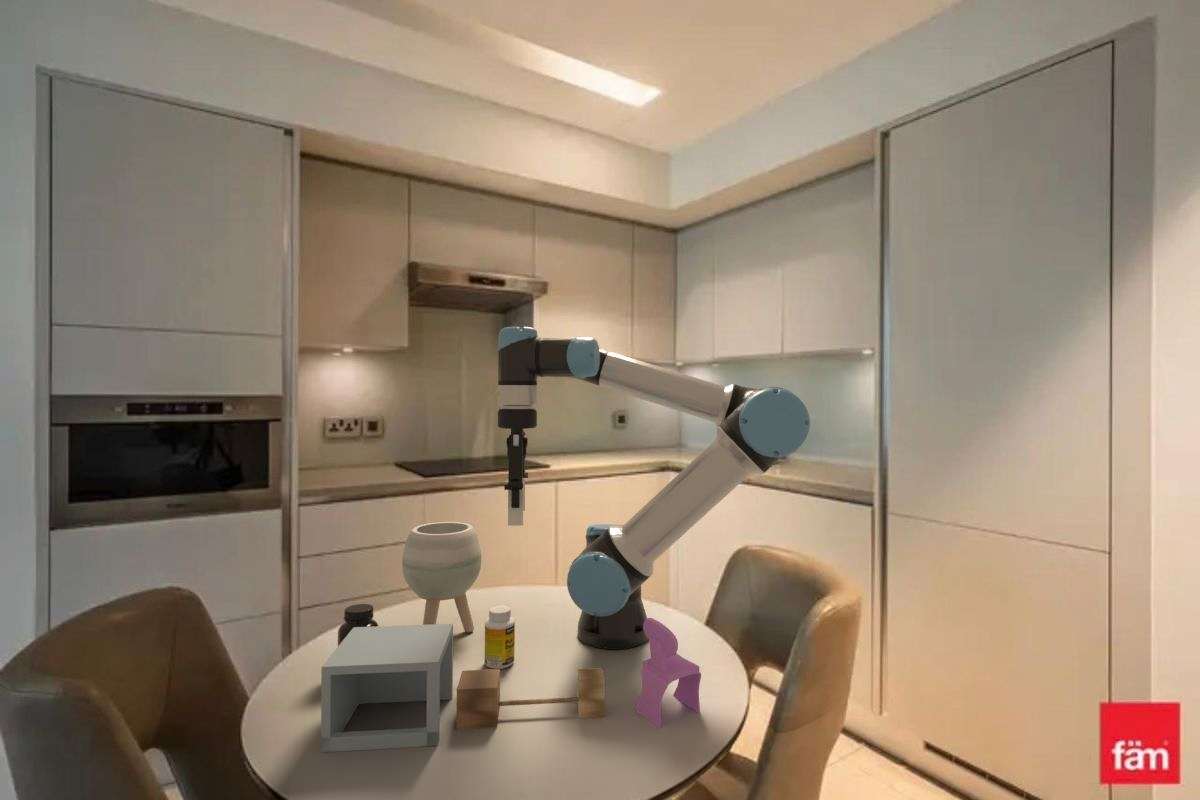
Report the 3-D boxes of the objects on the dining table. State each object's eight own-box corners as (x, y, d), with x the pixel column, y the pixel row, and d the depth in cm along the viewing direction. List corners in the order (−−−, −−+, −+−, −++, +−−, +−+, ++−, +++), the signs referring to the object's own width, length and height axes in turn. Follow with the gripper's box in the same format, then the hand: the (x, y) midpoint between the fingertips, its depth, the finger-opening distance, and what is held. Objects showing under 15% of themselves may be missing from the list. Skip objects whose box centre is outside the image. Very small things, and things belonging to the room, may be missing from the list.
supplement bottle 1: (363, 686, 99) (363, 616, 99) (328, 682, 100) (328, 613, 100) (386, 667, 106) (386, 602, 106) (352, 664, 107) (353, 600, 107)
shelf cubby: (452, 695, 96) (453, 623, 96) (438, 745, 82) (438, 661, 82) (353, 700, 94) (353, 627, 94) (321, 752, 80) (321, 666, 80)
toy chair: (707, 714, 90) (707, 619, 90) (663, 731, 86) (664, 631, 86) (672, 691, 97) (673, 603, 97) (631, 706, 93) (631, 614, 93)
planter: (496, 629, 124) (497, 525, 124) (439, 657, 110) (439, 540, 110) (444, 613, 132) (445, 517, 132) (385, 638, 119) (385, 530, 119)
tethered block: (601, 700, 94) (601, 664, 94) (605, 721, 88) (605, 682, 88) (462, 708, 92) (462, 670, 92) (456, 729, 86) (456, 689, 86)
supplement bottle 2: (507, 672, 104) (507, 615, 104) (479, 668, 106) (479, 613, 106) (519, 658, 110) (519, 605, 110) (492, 655, 111) (492, 602, 111)
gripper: (501, 406, 123) (501, 505, 123) (492, 408, 98) (492, 532, 98) (537, 406, 124) (536, 505, 124) (536, 408, 99) (536, 531, 99)
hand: (516, 517), depth 111 cm, fingers open, 13 cm apart
